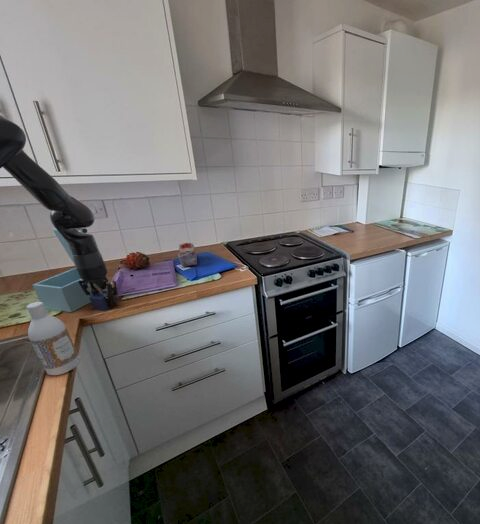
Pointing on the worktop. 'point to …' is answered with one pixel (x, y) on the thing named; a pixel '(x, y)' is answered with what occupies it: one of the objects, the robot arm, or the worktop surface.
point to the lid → (66, 242)
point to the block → (100, 301)
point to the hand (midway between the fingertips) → (105, 305)
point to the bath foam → (51, 341)
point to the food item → (187, 254)
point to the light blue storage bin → (62, 292)
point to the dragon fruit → (135, 260)
